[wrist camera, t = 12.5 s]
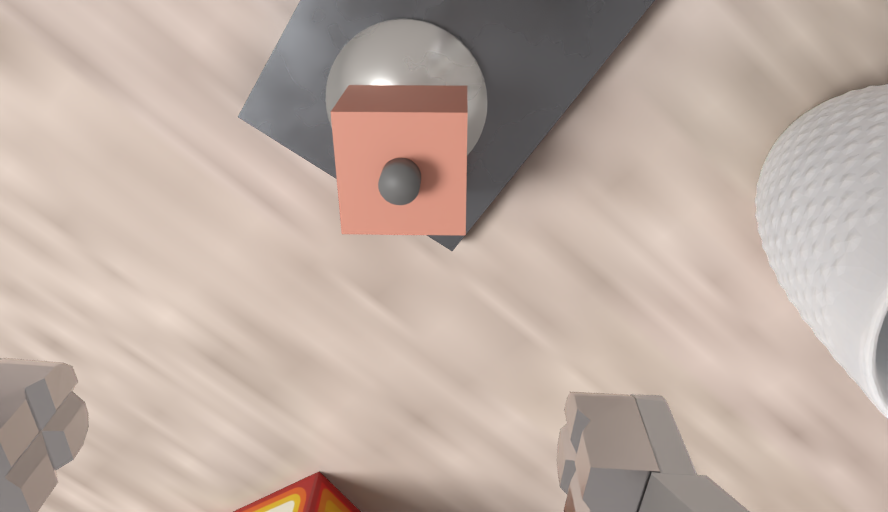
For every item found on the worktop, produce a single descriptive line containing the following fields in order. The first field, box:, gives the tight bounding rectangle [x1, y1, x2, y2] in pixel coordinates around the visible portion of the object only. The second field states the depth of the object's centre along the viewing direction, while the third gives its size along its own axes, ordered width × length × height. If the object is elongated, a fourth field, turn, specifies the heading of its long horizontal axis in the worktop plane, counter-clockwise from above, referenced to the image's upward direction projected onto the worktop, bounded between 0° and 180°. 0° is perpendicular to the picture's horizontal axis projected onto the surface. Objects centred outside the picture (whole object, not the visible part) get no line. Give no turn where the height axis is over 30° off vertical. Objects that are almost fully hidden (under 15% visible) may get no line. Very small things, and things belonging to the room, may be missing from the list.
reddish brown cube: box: [331, 85, 468, 236], centre depth 26 cm, size 5×5×5 cm
